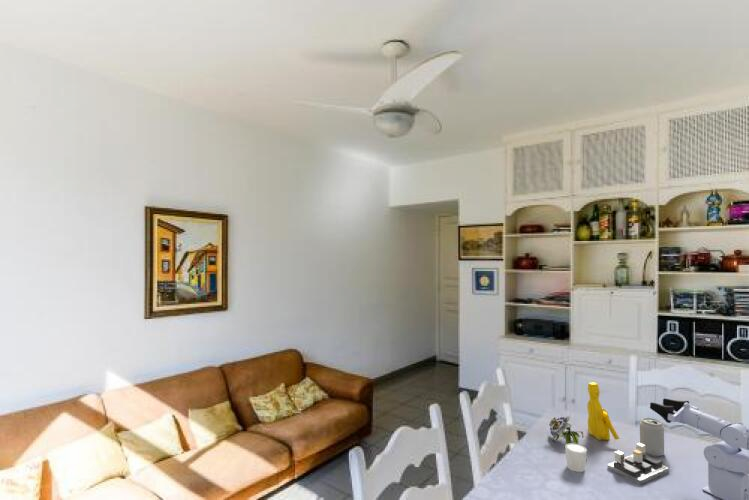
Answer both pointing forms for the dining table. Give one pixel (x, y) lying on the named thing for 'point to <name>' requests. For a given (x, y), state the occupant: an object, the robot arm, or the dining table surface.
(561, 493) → the dining table surface
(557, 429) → the passion flower
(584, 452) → the white cylinder
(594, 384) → the figure statuette
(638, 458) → the handle
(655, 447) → the can
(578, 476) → the dining table surface
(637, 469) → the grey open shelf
